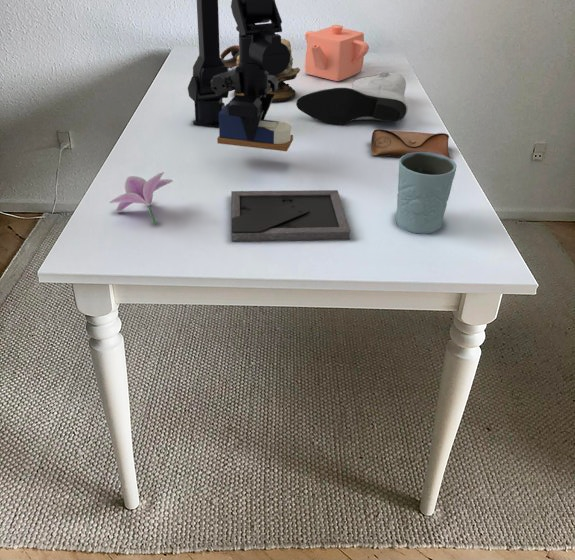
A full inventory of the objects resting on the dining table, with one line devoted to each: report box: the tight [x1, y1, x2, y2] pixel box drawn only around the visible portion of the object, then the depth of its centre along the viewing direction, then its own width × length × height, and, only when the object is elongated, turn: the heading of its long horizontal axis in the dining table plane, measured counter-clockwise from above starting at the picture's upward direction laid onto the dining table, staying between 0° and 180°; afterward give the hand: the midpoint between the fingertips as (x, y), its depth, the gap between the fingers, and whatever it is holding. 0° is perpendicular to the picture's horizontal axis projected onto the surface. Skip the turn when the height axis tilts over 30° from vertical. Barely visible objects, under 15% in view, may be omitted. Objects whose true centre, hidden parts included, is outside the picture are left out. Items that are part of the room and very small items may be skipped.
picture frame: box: [230, 189, 351, 242], centre depth 116 cm, size 16×2×21 cm
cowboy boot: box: [295, 72, 409, 126], centre depth 162 cm, size 10×28×25 cm
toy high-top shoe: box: [216, 103, 294, 152], centre depth 130 cm, size 15×6×7 cm, turn 78°
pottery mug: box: [220, 44, 239, 70], centre depth 188 cm, size 12×10×8 cm
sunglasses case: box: [370, 128, 452, 159], centre depth 142 cm, size 18×7×7 cm
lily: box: [109, 171, 174, 225], centre depth 113 cm, size 12×12×10 cm
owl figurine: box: [233, 38, 301, 103], centre depth 166 cm, size 18×12×17 cm, turn 92°
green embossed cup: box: [395, 152, 457, 235], centre depth 113 cm, size 10×10×12 cm
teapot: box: [304, 24, 370, 82], centre depth 184 cm, size 20×22×14 cm
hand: (253, 134), depth 131 cm, fingers closed on toy high-top shoe, 5 cm apart
